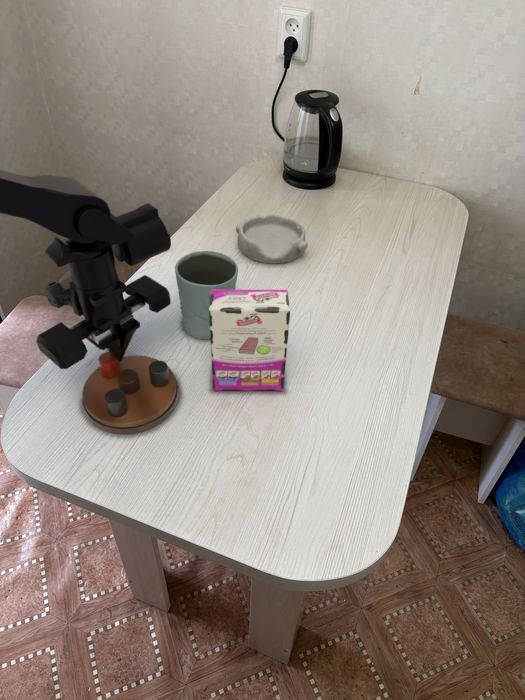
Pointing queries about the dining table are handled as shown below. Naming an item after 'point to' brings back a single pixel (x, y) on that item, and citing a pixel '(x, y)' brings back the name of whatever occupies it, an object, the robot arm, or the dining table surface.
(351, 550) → the dining table surface
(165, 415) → the base
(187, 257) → the grey green pot
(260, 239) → the dish
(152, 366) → the spice rack
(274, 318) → the candy bar box
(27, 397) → the dining table surface
